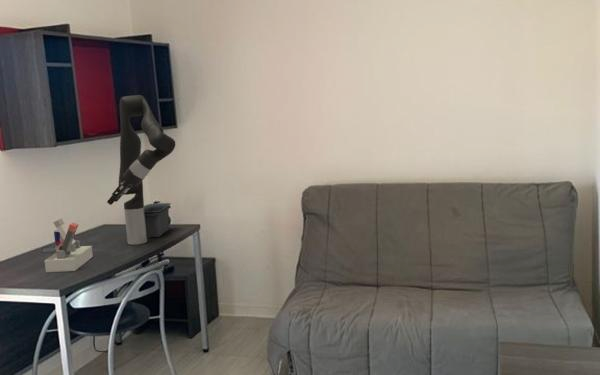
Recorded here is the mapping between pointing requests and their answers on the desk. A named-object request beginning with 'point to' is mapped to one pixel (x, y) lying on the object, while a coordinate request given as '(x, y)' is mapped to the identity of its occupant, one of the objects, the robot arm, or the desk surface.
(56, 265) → the switch box
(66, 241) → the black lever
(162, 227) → the storage bin
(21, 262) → the desk surface
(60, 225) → the ivory lever
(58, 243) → the energy drink
